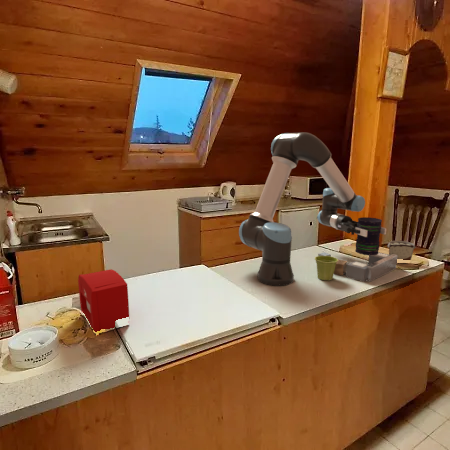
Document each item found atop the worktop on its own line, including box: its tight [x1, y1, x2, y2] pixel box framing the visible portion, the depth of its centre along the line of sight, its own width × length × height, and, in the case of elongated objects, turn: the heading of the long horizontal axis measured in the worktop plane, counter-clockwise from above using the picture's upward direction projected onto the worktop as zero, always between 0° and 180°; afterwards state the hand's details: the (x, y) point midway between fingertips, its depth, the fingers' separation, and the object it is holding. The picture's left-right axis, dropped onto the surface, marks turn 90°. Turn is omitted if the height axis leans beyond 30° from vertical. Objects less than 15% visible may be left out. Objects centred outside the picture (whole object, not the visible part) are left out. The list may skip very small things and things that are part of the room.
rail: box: [365, 254, 398, 283], centre depth 151 cm, size 2×25×6 cm, turn 131°
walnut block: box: [333, 259, 348, 276], centre depth 153 cm, size 5×6×5 cm
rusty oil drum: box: [354, 216, 383, 256], centre depth 153 cm, size 10×10×15 cm
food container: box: [387, 240, 416, 261], centre depth 167 cm, size 12×6×10 cm, turn 84°
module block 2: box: [367, 251, 390, 265], centre depth 161 cm, size 8×8×6 cm
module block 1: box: [345, 260, 368, 282], centre depth 147 cm, size 8×7×6 cm
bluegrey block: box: [317, 251, 332, 257], centre depth 161 cm, size 4×4×6 cm
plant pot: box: [314, 255, 339, 281], centre depth 146 cm, size 9×9×9 cm
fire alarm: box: [77, 268, 130, 332], centre depth 108 cm, size 16×11×15 cm
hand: (376, 232), depth 148 cm, fingers closed on rusty oil drum, 10 cm apart
